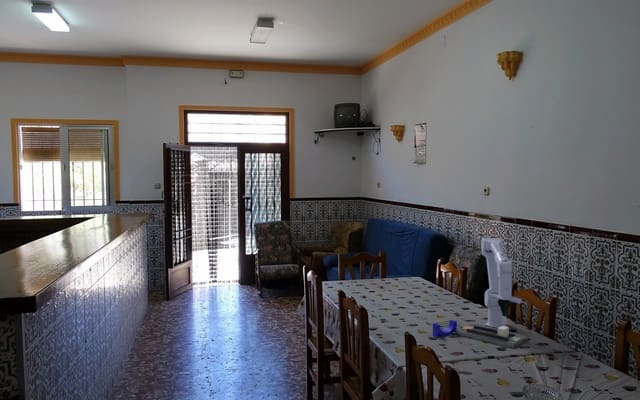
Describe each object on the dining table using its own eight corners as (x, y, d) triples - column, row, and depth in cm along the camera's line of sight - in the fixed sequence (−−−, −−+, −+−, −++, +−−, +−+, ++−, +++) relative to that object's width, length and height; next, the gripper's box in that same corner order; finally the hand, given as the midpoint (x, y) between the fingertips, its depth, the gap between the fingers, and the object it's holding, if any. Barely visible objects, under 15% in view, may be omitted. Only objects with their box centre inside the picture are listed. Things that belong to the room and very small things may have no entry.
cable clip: (450, 331, 242) (450, 318, 242) (456, 333, 238) (456, 321, 238) (430, 334, 237) (430, 322, 236) (436, 337, 233) (437, 324, 232)
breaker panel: (471, 326, 248) (471, 321, 248) (527, 339, 229) (527, 333, 229) (454, 334, 237) (454, 328, 237) (512, 348, 217) (512, 342, 217)
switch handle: (502, 334, 231) (502, 325, 231) (508, 335, 229) (508, 327, 229) (497, 336, 228) (497, 328, 227) (503, 338, 226) (504, 329, 225)
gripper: (486, 286, 235) (486, 314, 236) (516, 291, 225) (516, 320, 226) (493, 283, 240) (492, 311, 241) (523, 288, 230) (522, 317, 231)
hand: (504, 315), depth 234 cm, fingers closed
